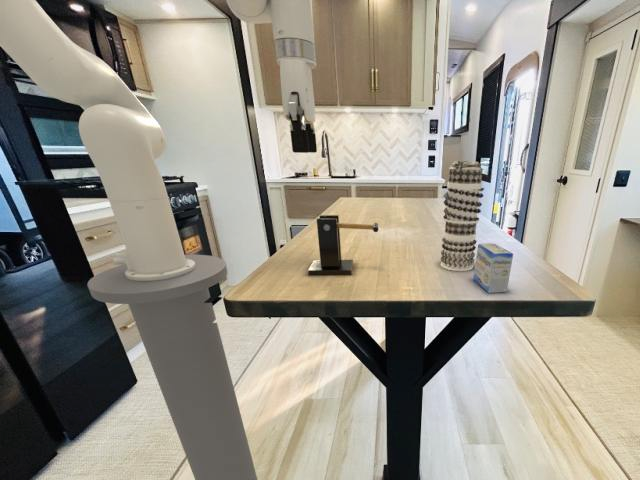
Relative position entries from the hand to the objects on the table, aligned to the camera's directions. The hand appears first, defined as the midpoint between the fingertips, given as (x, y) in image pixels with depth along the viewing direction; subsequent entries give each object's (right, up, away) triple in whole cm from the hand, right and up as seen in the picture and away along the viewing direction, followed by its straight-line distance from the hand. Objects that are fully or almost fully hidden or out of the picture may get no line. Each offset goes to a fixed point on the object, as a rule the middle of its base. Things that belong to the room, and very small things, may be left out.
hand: (305, 152), depth 70 cm
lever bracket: (+4, -25, +10) cm, 27 cm away
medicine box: (+41, -29, +1) cm, 50 cm away
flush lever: (+9, -16, +6) cm, 19 cm away
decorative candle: (+36, -23, +14) cm, 45 cm away
